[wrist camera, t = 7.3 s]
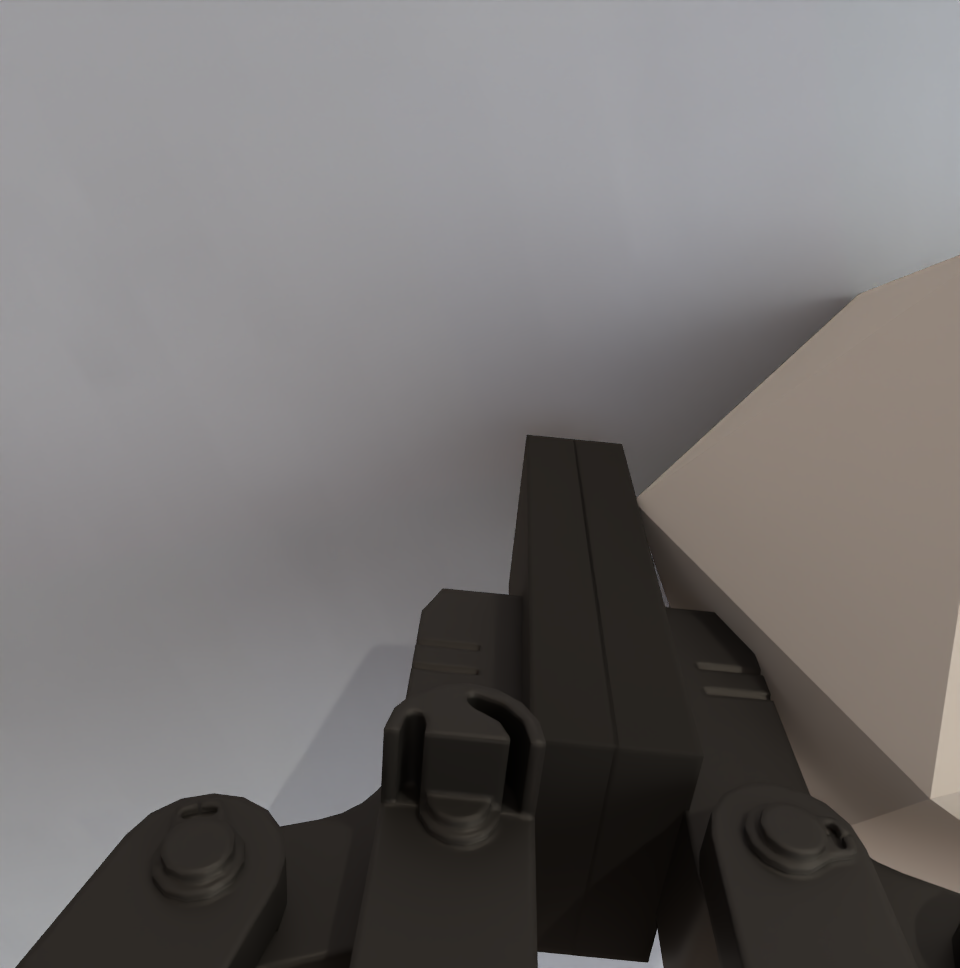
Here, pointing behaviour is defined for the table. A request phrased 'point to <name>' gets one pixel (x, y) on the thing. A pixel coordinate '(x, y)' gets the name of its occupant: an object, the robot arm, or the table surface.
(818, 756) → the die
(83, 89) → the table surface
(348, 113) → the table surface
